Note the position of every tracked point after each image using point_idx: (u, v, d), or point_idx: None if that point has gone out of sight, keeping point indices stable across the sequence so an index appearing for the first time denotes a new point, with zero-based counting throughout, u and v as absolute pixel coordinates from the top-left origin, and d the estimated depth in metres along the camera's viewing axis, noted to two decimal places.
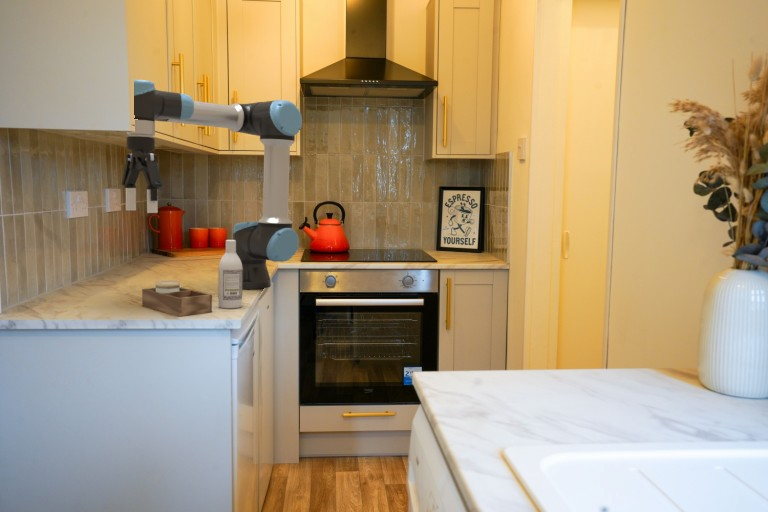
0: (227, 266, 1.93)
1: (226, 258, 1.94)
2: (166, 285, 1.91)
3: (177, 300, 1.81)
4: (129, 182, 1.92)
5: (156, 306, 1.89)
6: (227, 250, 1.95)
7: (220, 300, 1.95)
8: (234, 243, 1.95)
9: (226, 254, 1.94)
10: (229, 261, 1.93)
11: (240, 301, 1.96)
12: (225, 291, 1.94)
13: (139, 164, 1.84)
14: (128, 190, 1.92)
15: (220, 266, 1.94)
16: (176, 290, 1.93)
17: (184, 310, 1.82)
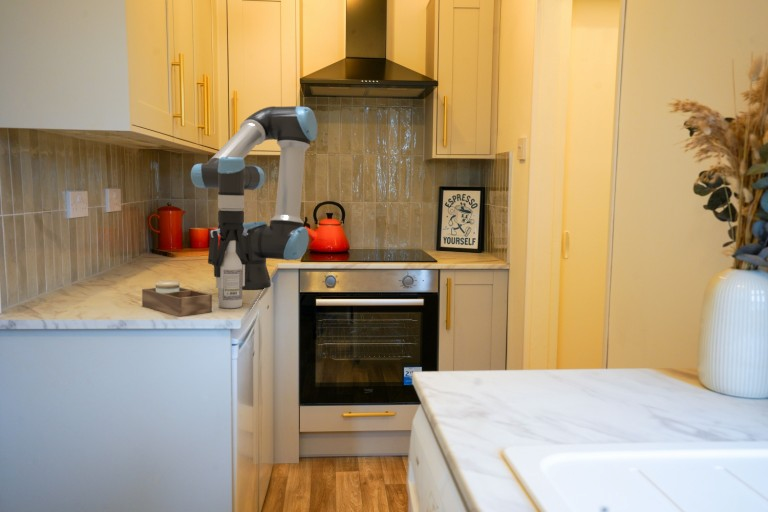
0: (226, 266, 1.93)
1: (226, 258, 1.94)
2: (166, 285, 1.91)
3: (177, 300, 1.81)
4: (239, 257, 1.99)
5: (156, 306, 1.89)
6: (227, 250, 1.95)
7: (220, 300, 1.95)
8: (234, 243, 1.95)
9: (226, 254, 1.94)
10: (229, 261, 1.93)
11: (240, 301, 1.96)
12: (225, 291, 1.94)
13: None
14: None
15: None
16: (176, 290, 1.93)
17: (184, 310, 1.82)
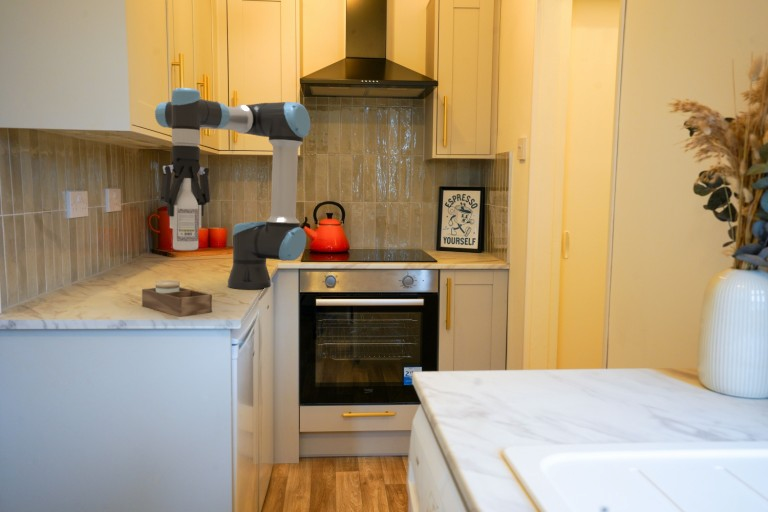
0: (181, 204, 1.82)
1: (181, 197, 1.82)
2: (166, 285, 1.91)
3: (177, 300, 1.81)
4: (195, 197, 1.88)
5: (156, 306, 1.89)
6: (181, 188, 1.83)
7: (174, 241, 1.84)
8: (189, 181, 1.84)
9: (180, 192, 1.83)
10: (183, 199, 1.82)
11: (196, 243, 1.85)
12: (179, 232, 1.82)
13: None
14: None
15: None
16: (176, 290, 1.93)
17: (184, 310, 1.82)
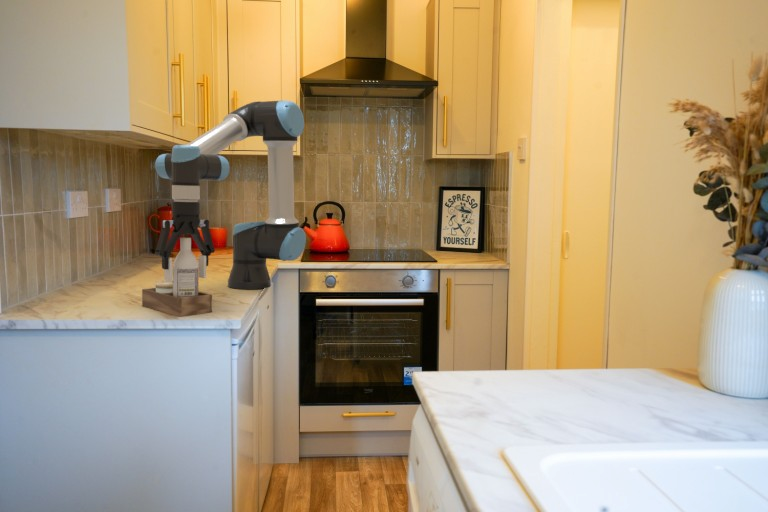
0: (181, 264, 1.84)
1: (181, 257, 1.84)
2: (166, 285, 1.91)
3: (177, 300, 1.81)
4: (199, 248, 1.91)
5: (156, 306, 1.89)
6: (182, 248, 1.85)
7: None
8: (189, 241, 1.86)
9: (181, 252, 1.85)
10: (183, 260, 1.84)
11: None
12: (179, 291, 1.84)
13: None
14: (199, 257, 1.91)
15: (174, 265, 1.85)
16: None
17: (184, 310, 1.82)
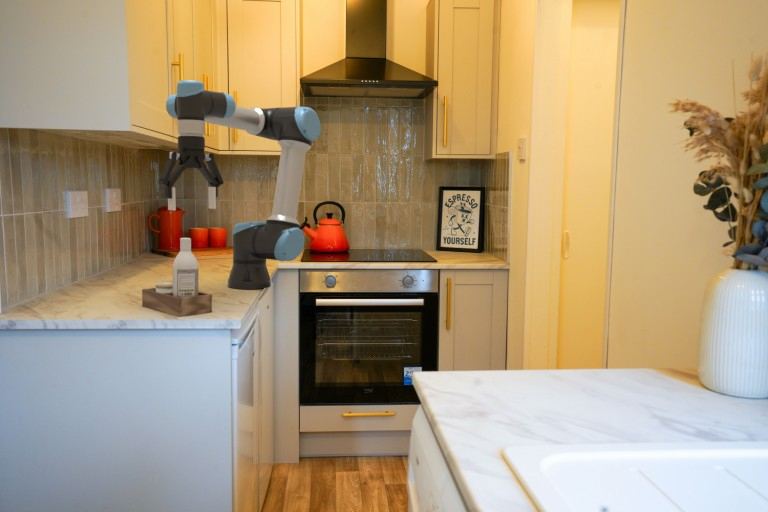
0: (181, 265, 1.84)
1: (181, 257, 1.84)
2: (166, 285, 1.91)
3: (177, 300, 1.81)
4: (208, 181, 1.97)
5: (156, 306, 1.89)
6: (181, 248, 1.85)
7: None
8: (189, 241, 1.85)
9: (180, 253, 1.85)
10: (183, 260, 1.84)
11: None
12: (179, 292, 1.84)
13: None
14: (209, 189, 1.98)
15: (174, 265, 1.85)
16: None
17: (184, 310, 1.82)
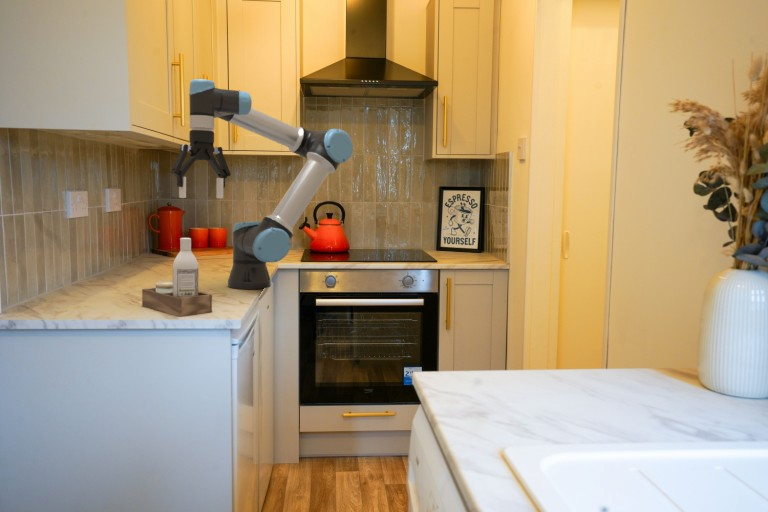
0: (181, 265, 1.84)
1: (181, 257, 1.84)
2: (166, 285, 1.91)
3: (177, 300, 1.81)
4: (217, 172, 2.14)
5: (156, 306, 1.89)
6: (182, 248, 1.85)
7: None
8: (189, 241, 1.85)
9: (180, 253, 1.85)
10: (183, 260, 1.84)
11: None
12: (179, 292, 1.84)
13: None
14: (217, 180, 2.14)
15: (174, 265, 1.85)
16: None
17: (184, 310, 1.82)
